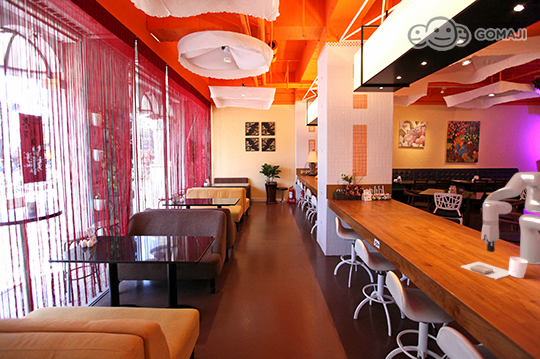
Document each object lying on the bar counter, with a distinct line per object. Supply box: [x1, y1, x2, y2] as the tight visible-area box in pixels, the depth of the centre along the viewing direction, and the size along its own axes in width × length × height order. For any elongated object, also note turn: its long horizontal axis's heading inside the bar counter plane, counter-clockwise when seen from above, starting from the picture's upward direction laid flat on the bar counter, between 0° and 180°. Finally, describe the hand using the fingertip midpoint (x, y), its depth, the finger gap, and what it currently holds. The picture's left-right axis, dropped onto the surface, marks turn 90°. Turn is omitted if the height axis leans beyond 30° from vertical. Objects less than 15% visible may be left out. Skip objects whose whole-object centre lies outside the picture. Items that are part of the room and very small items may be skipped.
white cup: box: [508, 256, 529, 279], centre depth 157 cm, size 8×8×10 cm
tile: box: [469, 264, 493, 276], centre depth 165 cm, size 2×8×8 cm
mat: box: [460, 261, 511, 281], centre depth 167 cm, size 18×20×1 cm
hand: (490, 251), depth 167 cm, fingers closed
